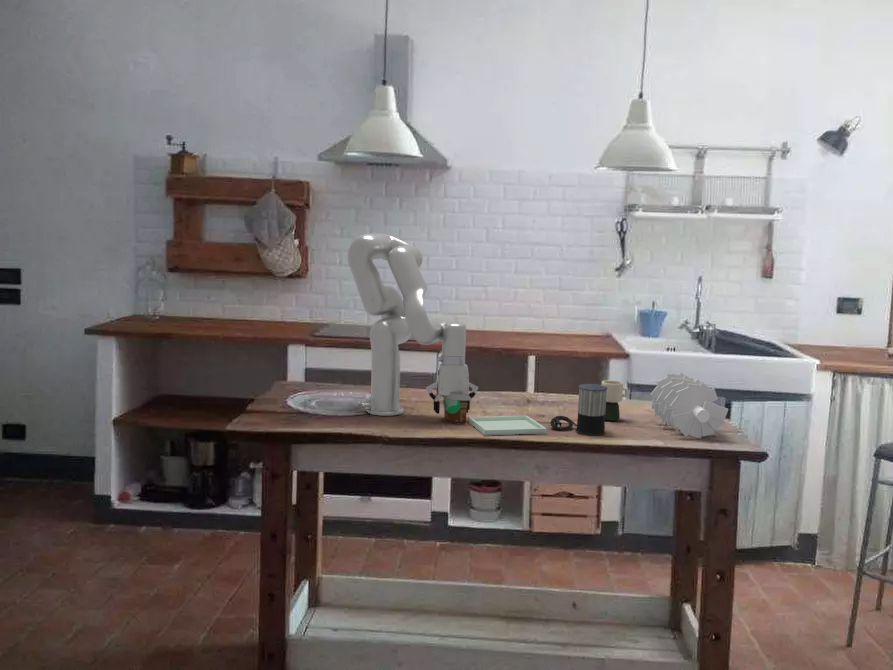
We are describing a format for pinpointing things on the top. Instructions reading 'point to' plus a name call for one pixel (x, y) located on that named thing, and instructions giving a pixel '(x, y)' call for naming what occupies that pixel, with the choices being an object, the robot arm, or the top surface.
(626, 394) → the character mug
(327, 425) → the top surface
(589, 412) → the milk frother
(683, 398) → the spiral staircase
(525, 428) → the tray
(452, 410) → the food container
